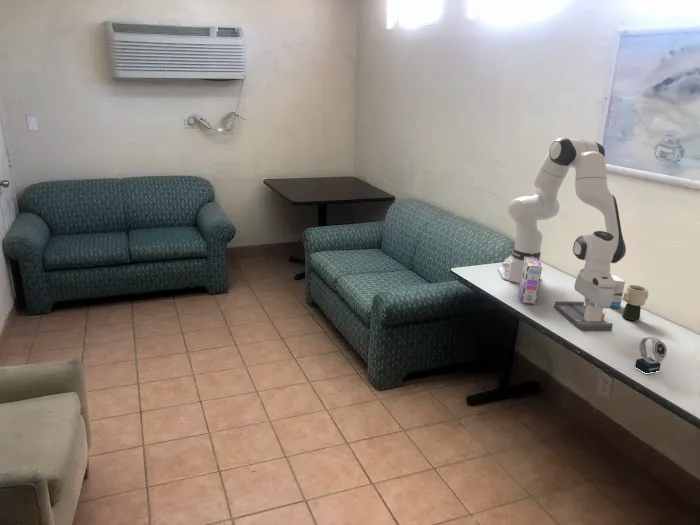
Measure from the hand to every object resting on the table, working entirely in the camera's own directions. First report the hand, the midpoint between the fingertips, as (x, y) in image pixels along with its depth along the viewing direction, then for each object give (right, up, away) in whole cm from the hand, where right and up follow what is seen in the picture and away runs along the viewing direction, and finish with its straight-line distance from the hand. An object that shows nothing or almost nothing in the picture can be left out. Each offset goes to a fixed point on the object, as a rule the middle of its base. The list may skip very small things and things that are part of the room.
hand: (588, 310), depth 208 cm
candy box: (-16, +3, +23) cm, 28 cm away
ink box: (+18, 0, +23) cm, 29 cm away
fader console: (-1, -4, +5) cm, 6 cm away
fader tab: (0, -4, -2) cm, 5 cm away
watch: (+4, -16, -33) cm, 37 cm away
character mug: (+20, -4, +8) cm, 22 cm away
